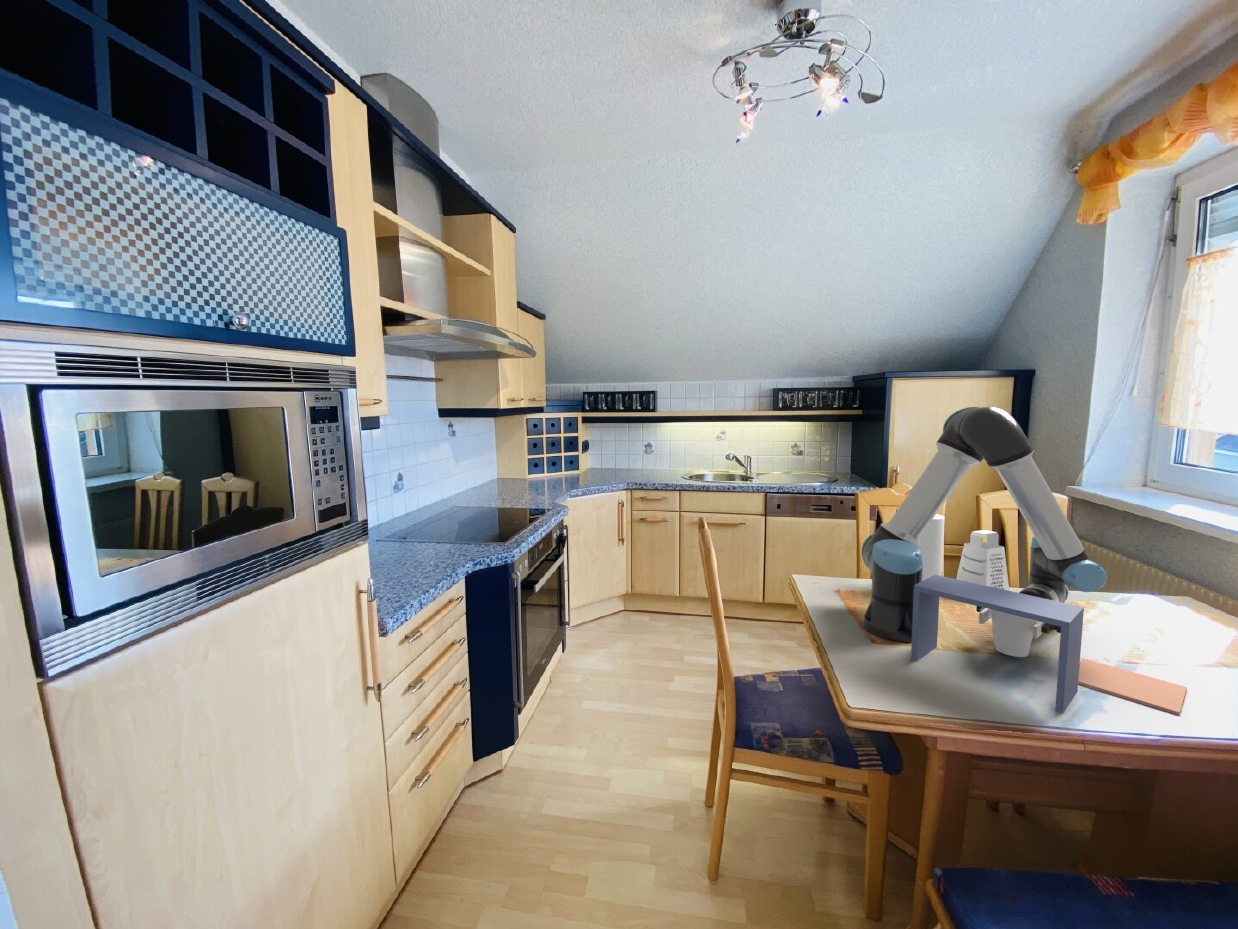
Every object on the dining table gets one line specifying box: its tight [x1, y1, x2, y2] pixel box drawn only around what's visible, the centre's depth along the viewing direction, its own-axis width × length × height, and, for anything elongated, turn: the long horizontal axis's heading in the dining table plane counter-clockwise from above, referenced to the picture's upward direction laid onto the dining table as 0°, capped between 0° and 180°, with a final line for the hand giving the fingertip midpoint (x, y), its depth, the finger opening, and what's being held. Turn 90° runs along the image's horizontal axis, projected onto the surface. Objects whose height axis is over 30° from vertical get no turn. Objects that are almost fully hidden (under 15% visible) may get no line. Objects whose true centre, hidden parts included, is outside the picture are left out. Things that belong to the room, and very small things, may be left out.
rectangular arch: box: [910, 575, 1085, 714], centre depth 109 cm, size 27×12×18 cm, turn 37°
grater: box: [955, 529, 1010, 591], centre depth 159 cm, size 10×10×20 cm
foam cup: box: [990, 593, 1037, 658], centre depth 117 cm, size 10×9×13 cm
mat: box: [1078, 657, 1188, 716], centre depth 105 cm, size 16×14×1 cm
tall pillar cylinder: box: [919, 513, 945, 581], centre depth 162 cm, size 11×11×25 cm
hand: (1007, 625), depth 114 cm, fingers closed on foam cup, 9 cm apart
